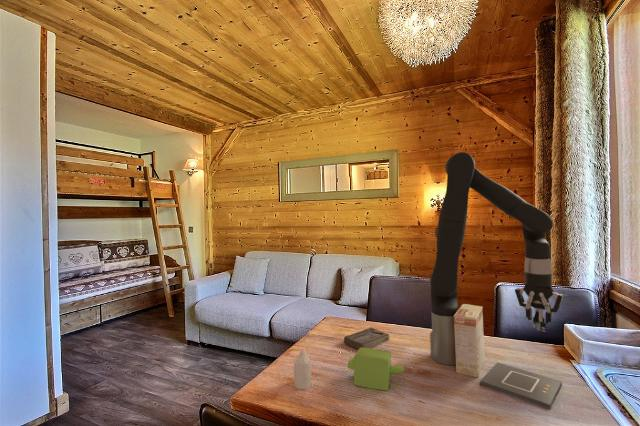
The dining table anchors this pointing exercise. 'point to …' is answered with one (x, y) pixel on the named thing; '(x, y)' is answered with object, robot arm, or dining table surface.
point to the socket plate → (522, 384)
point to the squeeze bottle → (302, 371)
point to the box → (366, 338)
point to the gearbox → (373, 368)
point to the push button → (538, 316)
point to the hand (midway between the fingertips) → (538, 321)
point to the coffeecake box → (469, 340)
